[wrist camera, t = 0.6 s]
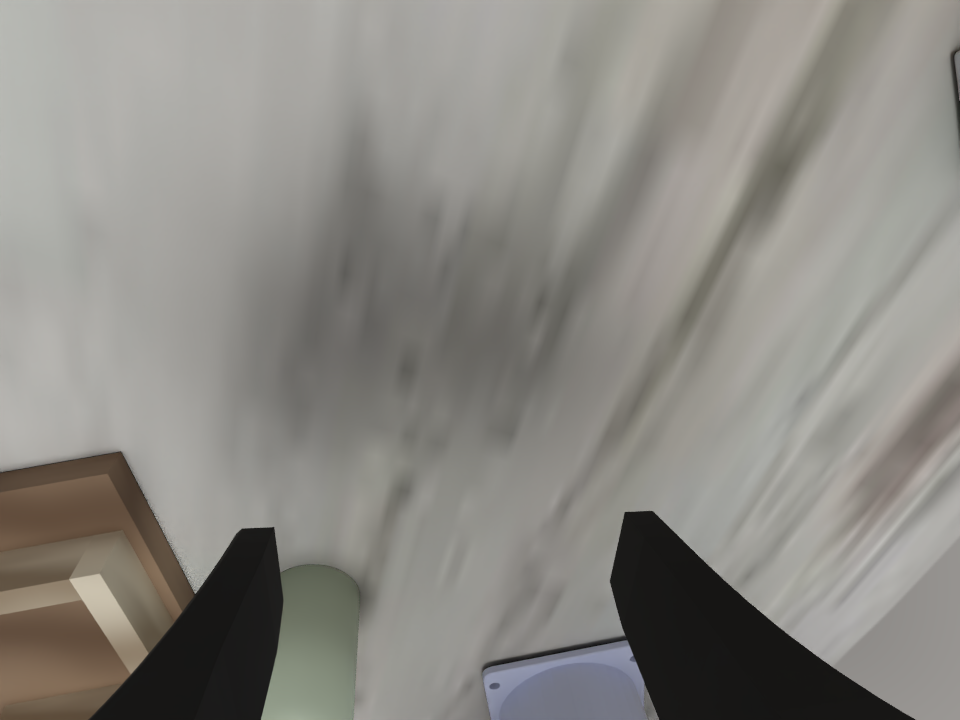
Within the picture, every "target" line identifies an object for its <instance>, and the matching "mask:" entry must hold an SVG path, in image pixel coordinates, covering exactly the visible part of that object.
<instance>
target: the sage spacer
mask: <svg viewBox="0 0 960 720" xmlns="http://www.w3.org/2000/svg"><path fill="white" fill-rule="evenodd" d="M280 576H281V583H282V591H283V599H284V602H283V610H282V619H281V627H280V635H279V642H278V649H277V655H276V659H275V663H274V668H273V672H272V676H271V680H270V684H269V689H268V693H267V697H266V701H265V705H264V709H263V713H262V717H261V720H353V717H354V699H355V681H356V662H357V644H358V626H359V608H360V592H359V589H358V586H357V585H356V583H355V582H354V580H353V579H352V578H351V577H349V576H348V575H347V574H345V573H344V572H342V571H340V570H338V569H335V568H332V567H329V566H323V565H302V566H297V567H293V568H290V569H288V570H286V571H283V572H282V573H280Z"/></svg>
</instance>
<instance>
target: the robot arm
mask: <svg viewBox="0 0 960 720" xmlns="http://www.w3.org/2000/svg"><path fill="white" fill-rule="evenodd" d="M610 583H611V587H612V591H613V595H614V599H615V603H616V607H617V610H618V614H619V617H620V621H621V624H622V628H623V630H624V633H625V636H626V638H627V640H625V641H619V642H614V643H609V644H604V645H599V646H594V647H589V648H584V649H579V650H573V651H568V652H563V653H558V654H553V655H548V656H543V657H538V658H532V659H527V660H522V661H517V662H512V663H507V664H502V665H497V666H492V667H488V668H487V669H485V670H484V671H483V674H482V676H483V682H484V688H485V693H486V698H487V703H488V708H489V713H490V718H491V720H648V719H647V716H646V714H645V711H644V683H645V685H646V688H647V690H648V693H649V695H650V697H651V700H652V702H653V705H654V707H655V710H656V712H657V715H658V717H659V720H915V719H914V718H912V717H910V716H908V715H906V714H905V713H903V712H901V711H900V710H898V709H896V708H895V707H893V706H892V705H890V704H888V703H887V702H885V701H883V700H882V699H880V698H878V697H877V696H875V695H874V694H872V693H871V692H869V691H868V690H866V689H865V688H863V687H862V686H860V685H858V684H857V683H855V682H854V681H852V680H851V679H849V678H848V677H846V676H845V675H843V674H842V673H840V672H839V671H837V670H836V669H834V668H833V667H832V666H830V665H829V664H827V663H826V662H824V661H823V660H821V659H820V658H819V657H817V656H816V655H815V654H813V653H812V652H811V651H809V650H808V649H807V648H805V647H804V646H803V645H801V644H800V643H799V642H797V641H796V640H795V639H793V638H792V637H790V636H789V635H788V634H787V633H785V632H784V631H783V630H782V629H780V628H779V627H778V626H777V625H775V624H774V623H773V622H772V621H770V620H769V619H768V618H767V617H766V616H765V615H763V614H762V613H761V612H760V611H759V610H757V609H756V608H755V607H754V606H753V605H751V604H750V603H749V602H748V601H747V600H746V599H744V598H743V597H742V596H741V595H740V594H739V593H738V592H737V591H735V590H734V589H733V588H732V587H731V586H730V585H729V584H728V583H727V582H725V581H724V580H723V579H722V578H721V577H720V576H719V575H718V574H717V573H716V572H715V571H714V570H713V569H712V568H710V567H709V566H708V565H707V564H706V563H705V562H704V561H703V560H702V559H701V558H700V557H699V556H698V555H697V554H696V553H695V552H694V551H693V550H692V549H691V548H690V547H689V546H688V545H687V544H686V543H685V542H684V541H683V540H682V539H681V538H680V537H679V536H678V535H677V534H675V533H674V532H673V531H672V530H671V529H670V528H669V527H668V526H667V525H666V524H665V523H664V522H663V521H662V520H661V519H660V518H659V517H658V516H657V515H656V514H655V513H654V512H653V511H640V512H625V514H624V519H623V523H622V528H621V533H620V537H619V542H618V546H617V551H616V556H615V560H614V565H613V570H612V574H611V579H610ZM283 602H284V599H283V591H282V583H281V576H280V568H279V561H278V553H277V546H276V538H275V530H274V527H271V528H247V529H241V530H240V531H239V532H238V533H237V534H236V535H235V537H234V539H233V540H232V542H231V543H230V545H229V546H228V548H227V550H226V551H225V553H224V554H223V556H222V557H221V559H220V560H219V562H218V563H217V565H216V566H215V568H214V569H213V570H212V572H211V573H210V575H209V576H208V578H207V579H206V580H205V582H204V583H203V585H202V586H201V587H200V589H199V590H198V592H197V593H196V594H195V596H194V597H193V598H192V600H191V601H190V602H189V604H188V605H187V606H186V608H185V609H184V610H183V612H182V613H181V614H180V616H179V617H178V618H177V620H176V621H175V622H174V623H173V625H172V626H171V627H170V628H169V630H168V631H167V632H166V633H165V634H164V636H163V637H162V638H161V639H160V641H159V642H158V643H157V644H156V645H155V647H154V648H153V649H152V650H151V651H150V653H149V654H148V655H147V656H146V657H145V659H144V660H143V661H142V662H141V663H140V665H139V666H138V667H137V668H136V669H135V670H134V671H133V673H132V674H131V675H130V676H129V677H128V678H127V679H126V680H125V682H124V683H123V684H122V685H121V686H120V687H119V688H118V689H117V690H116V691H115V692H114V693H113V695H112V696H111V697H110V698H109V699H108V700H107V701H106V702H105V703H104V704H103V705H102V706H101V707H100V708H99V709H98V710H97V711H96V712H95V713H94V714H93V715H92V716H91V717H90V718H89V719H88V720H261V717H262V713H263V709H264V705H265V701H266V697H267V693H268V689H269V684H270V680H271V676H272V672H273V668H274V663H275V659H276V655H277V649H278V642H279V635H280V627H281V619H282V610H283Z"/></svg>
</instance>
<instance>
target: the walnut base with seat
mask: <svg viewBox="0 0 960 720" xmlns="http://www.w3.org/2000/svg"><path fill="white" fill-rule="evenodd" d="M194 596H195V594H194V593H193V591H192V589H191V587H190V585H189V583H188V581H187V579H186V577H185V575H184V573H183V571H182V569H181V567H180V565H179V564H178V562H177V560H176V558H175V556H174V554H173V552H172V550H171V548H170V546H169V544H168V542H167V540H166V538H165V536H164V534H163V533H162V531H161V529H160V527H159V525H158V523H157V521H156V519H155V517H154V515H153V513H152V511H151V509H150V507H149V505H148V504H147V502H146V500H145V498H144V496H143V494H142V492H141V490H140V488H139V486H138V484H137V482H136V480H135V478H134V476H133V475H132V473H131V471H130V469H129V467H128V465H127V463H126V461H125V459H124V457H123V455H122V453H121V452H118V453H113V454H107V455H101V456H95V457H90V458H84V459H78V460H72V461H67V462H61V463H55V464H49V465H44V466H38V467H32V468H26V469H21V470H15V471H9V472H3V473H0V720H88V719H89V718H90V717H91V716H92V715H93V714H94V713H95V712H96V711H97V710H98V709H99V708H100V707H101V706H102V705H103V704H104V703H105V702H106V701H107V700H108V699H109V698H110V697H111V696H112V695H113V693H114V692H115V691H116V690H117V689H118V688H119V687H120V686H121V685H122V684H123V683H124V682H125V680H126V679H127V678H128V677H129V676H130V675H131V674H132V673H133V671H134V670H135V669H136V668H137V667H138V666H139V665H140V663H141V662H142V661H143V660H144V659H145V657H146V656H147V655H148V654H149V653H150V651H151V650H152V649H153V648H154V647H155V645H156V644H157V643H158V642H159V641H160V639H161V638H162V637H163V636H164V634H165V633H166V632H167V631H168V630H169V628H170V627H171V626H172V625H173V623H174V622H175V621H176V620H177V618H178V617H179V616H180V614H181V613H182V612H183V610H184V609H185V608H186V606H187V605H188V604H189V602H190V601H191V600H192V598H193V597H194Z"/></svg>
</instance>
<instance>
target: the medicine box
mask: <svg viewBox="0 0 960 720" xmlns="http://www.w3.org/2000/svg"><path fill="white" fill-rule="evenodd" d="M954 59H955V67H956V75H957V83H958V92H959V99H960V50H959V51H958V52H956V54H955V58H954Z"/></svg>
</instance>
